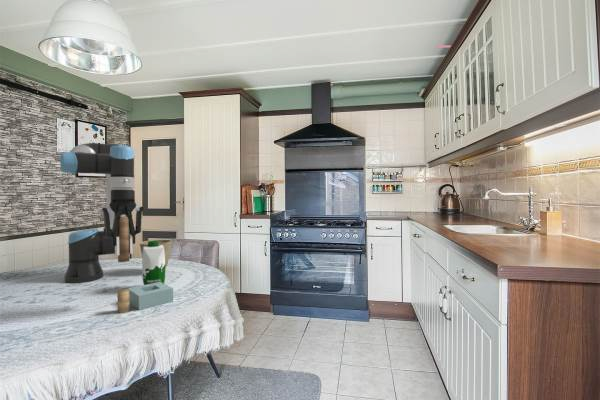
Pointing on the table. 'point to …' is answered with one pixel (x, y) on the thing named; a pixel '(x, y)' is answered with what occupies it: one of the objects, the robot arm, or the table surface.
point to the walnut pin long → (123, 239)
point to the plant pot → (160, 242)
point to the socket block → (150, 295)
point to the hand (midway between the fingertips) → (123, 253)
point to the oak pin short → (123, 301)
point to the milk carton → (153, 263)
